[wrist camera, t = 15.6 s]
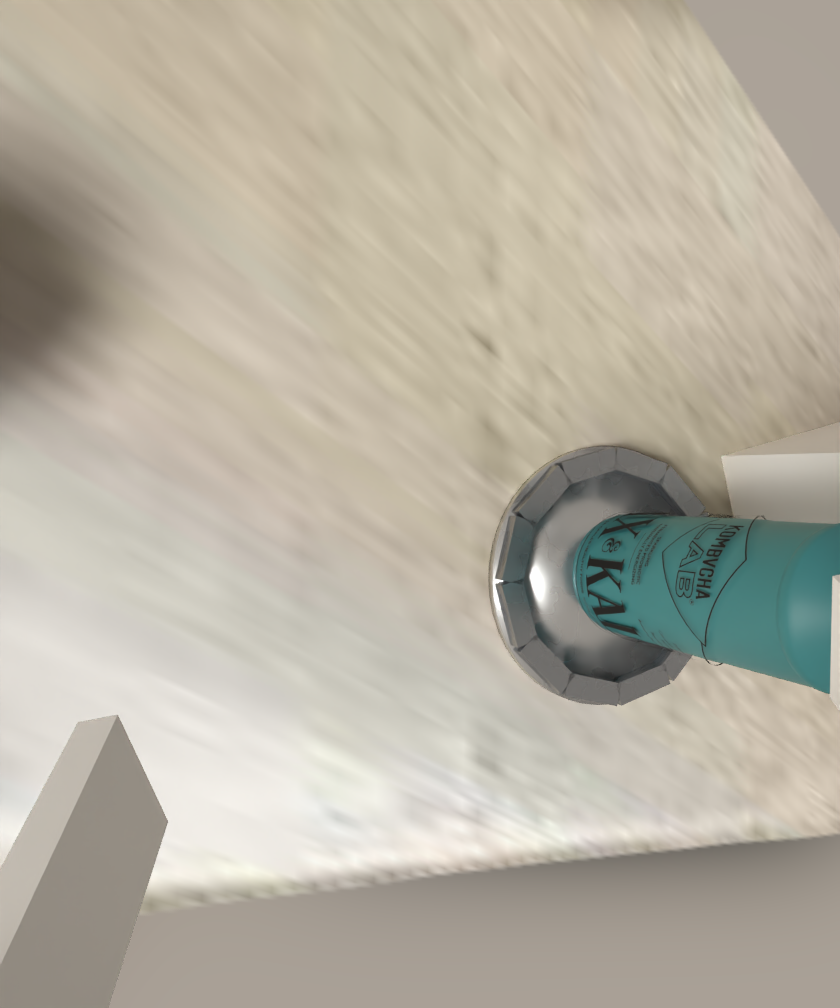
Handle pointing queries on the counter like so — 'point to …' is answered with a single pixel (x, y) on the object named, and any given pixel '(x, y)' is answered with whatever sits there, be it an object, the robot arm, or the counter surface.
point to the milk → (788, 478)
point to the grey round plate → (549, 583)
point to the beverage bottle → (716, 589)
